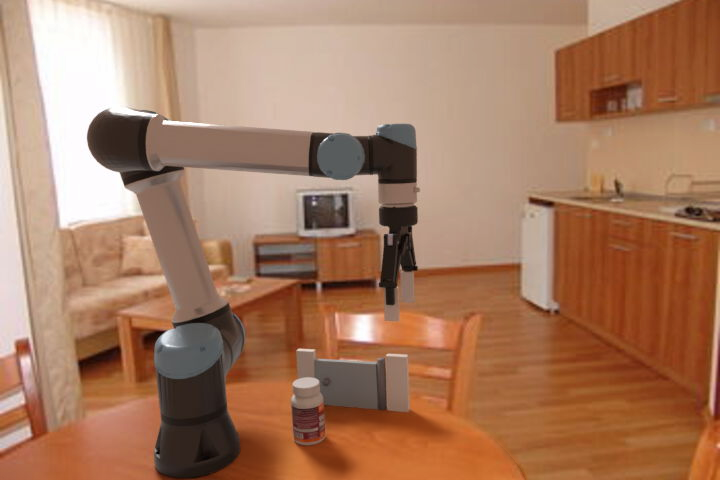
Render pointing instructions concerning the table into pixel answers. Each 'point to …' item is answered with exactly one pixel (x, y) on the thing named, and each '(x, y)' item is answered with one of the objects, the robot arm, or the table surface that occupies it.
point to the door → (353, 383)
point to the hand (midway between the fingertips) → (400, 311)
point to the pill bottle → (307, 412)
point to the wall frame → (394, 374)
